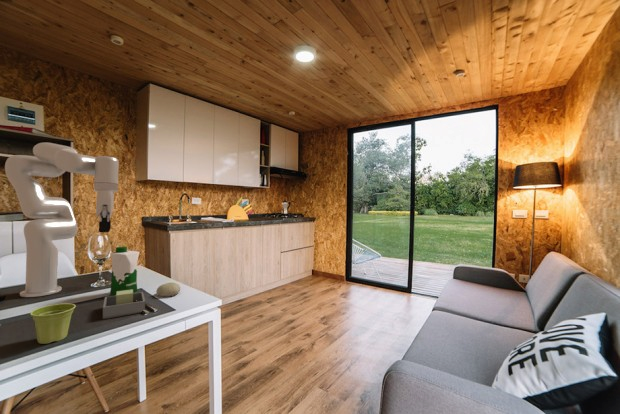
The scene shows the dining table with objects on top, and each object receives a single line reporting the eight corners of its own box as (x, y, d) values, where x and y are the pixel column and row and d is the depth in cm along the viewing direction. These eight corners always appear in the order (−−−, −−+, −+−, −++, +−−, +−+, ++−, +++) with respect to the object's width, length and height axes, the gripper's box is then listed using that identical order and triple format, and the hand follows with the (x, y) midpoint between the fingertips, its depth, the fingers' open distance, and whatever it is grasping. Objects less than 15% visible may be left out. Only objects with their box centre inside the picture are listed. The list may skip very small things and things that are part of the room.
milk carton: (124, 289, 122) (125, 245, 122) (141, 291, 120) (142, 246, 120) (106, 295, 114) (107, 248, 113) (123, 297, 112) (125, 249, 112)
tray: (104, 307, 100) (104, 296, 100) (142, 301, 107) (143, 291, 107) (102, 319, 90) (103, 307, 90) (144, 312, 97) (145, 301, 97)
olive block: (116, 307, 100) (116, 291, 100) (132, 304, 102) (132, 289, 102) (115, 311, 96) (116, 295, 96) (132, 309, 98) (133, 293, 98)
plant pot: (49, 331, 81) (50, 303, 81) (82, 331, 82) (83, 303, 82) (18, 347, 72) (19, 315, 72) (56, 347, 73) (57, 315, 73)
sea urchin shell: (151, 290, 116) (165, 275, 120) (164, 300, 120) (177, 285, 124) (158, 295, 110) (173, 279, 114) (172, 305, 114) (186, 289, 118)
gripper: (95, 188, 110) (94, 229, 110) (92, 186, 96) (90, 233, 96) (118, 189, 115) (117, 228, 115) (117, 187, 101) (116, 232, 101)
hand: (104, 231), depth 105 cm, fingers open, 9 cm apart
